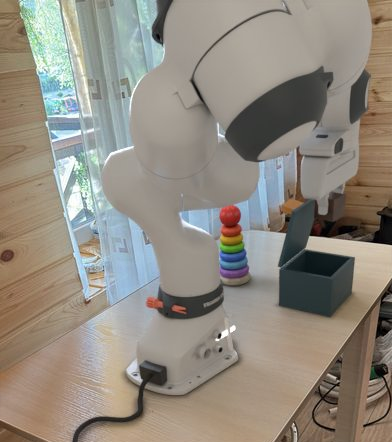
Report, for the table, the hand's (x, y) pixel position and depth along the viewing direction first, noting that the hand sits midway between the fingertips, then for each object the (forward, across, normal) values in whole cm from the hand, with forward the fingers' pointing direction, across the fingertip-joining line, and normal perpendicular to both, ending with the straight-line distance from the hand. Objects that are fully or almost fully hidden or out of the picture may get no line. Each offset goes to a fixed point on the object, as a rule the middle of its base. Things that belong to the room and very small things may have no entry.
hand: (329, 209), depth 104 cm
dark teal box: (+21, 0, -2) cm, 21 cm away
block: (+2, 0, 0) cm, 2 cm away
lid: (+5, 0, -6) cm, 8 cm away
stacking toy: (+21, -1, -24) cm, 32 cm away
